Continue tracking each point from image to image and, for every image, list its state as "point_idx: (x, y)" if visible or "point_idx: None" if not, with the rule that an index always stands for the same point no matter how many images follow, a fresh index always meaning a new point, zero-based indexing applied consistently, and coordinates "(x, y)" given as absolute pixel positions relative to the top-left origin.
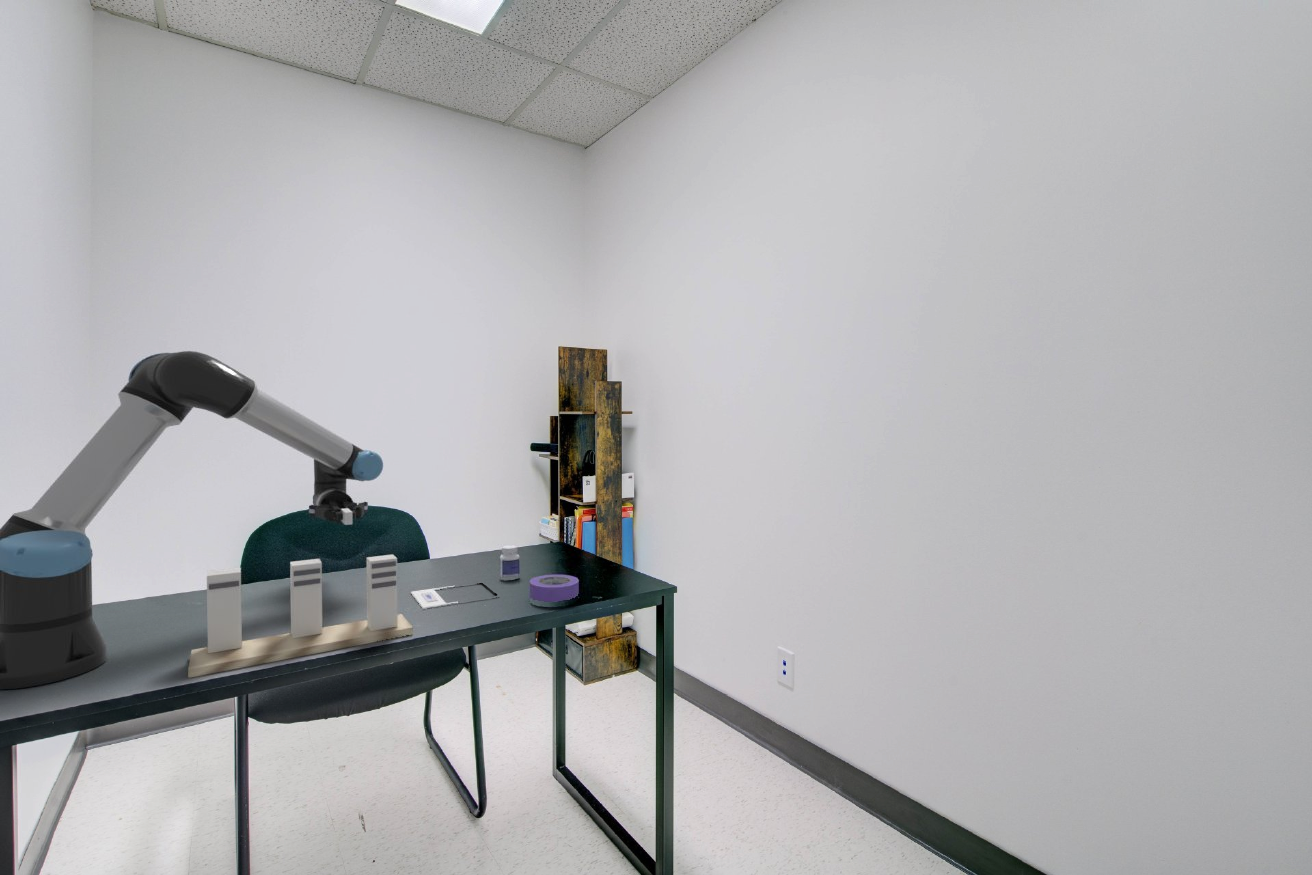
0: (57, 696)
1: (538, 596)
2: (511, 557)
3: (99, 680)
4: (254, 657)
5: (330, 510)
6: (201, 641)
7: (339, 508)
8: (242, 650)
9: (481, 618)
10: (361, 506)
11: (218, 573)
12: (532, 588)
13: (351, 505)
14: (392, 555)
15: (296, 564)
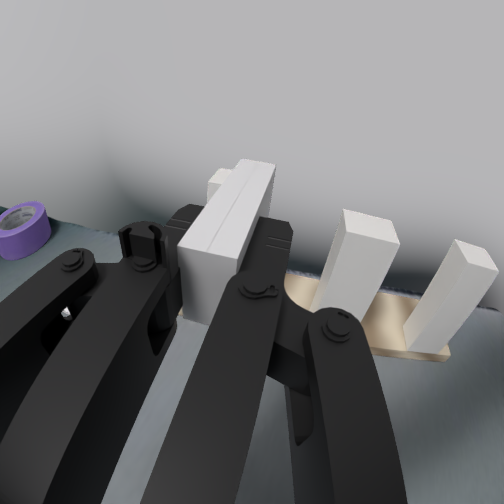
0: (500, 333)
1: (46, 225)
2: None
3: (492, 349)
4: (384, 293)
5: (319, 314)
6: (448, 420)
7: (219, 320)
8: (400, 319)
9: (109, 250)
10: (17, 293)
11: (478, 251)
12: (38, 226)
13: (146, 223)
14: (213, 178)
15: (385, 224)
